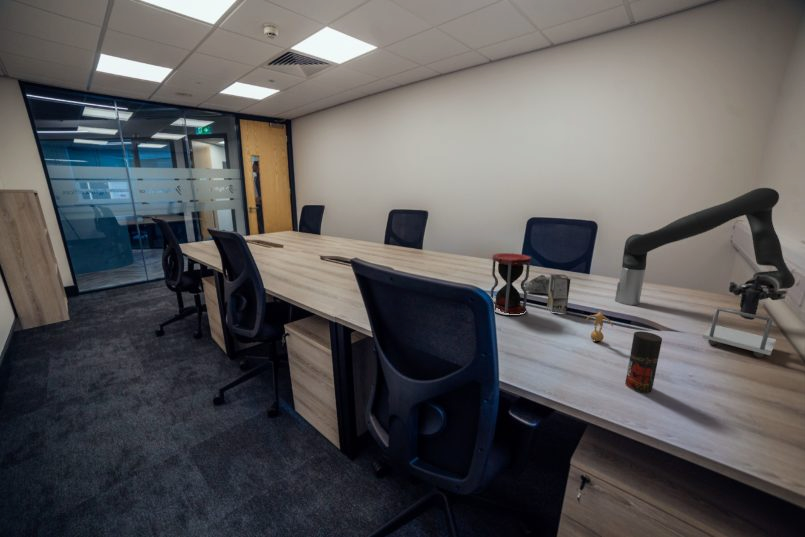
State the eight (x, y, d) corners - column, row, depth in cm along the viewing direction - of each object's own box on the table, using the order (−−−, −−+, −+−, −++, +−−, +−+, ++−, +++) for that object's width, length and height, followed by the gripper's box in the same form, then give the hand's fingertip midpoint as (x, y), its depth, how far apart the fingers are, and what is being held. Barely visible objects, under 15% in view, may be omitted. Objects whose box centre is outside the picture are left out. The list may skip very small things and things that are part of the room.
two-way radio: (755, 321, 106) (766, 277, 103) (736, 318, 109) (746, 275, 106) (751, 316, 110) (761, 273, 107) (733, 313, 113) (742, 272, 110)
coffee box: (566, 315, 141) (571, 279, 137) (551, 313, 142) (555, 278, 139) (561, 308, 150) (565, 274, 146) (546, 307, 151) (550, 273, 147)
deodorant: (620, 381, 91) (628, 331, 87) (639, 380, 91) (649, 331, 88) (636, 393, 85) (646, 341, 82) (657, 392, 85) (668, 340, 82)
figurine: (610, 342, 115) (615, 310, 112) (608, 348, 110) (614, 315, 107) (583, 336, 119) (588, 305, 117) (581, 342, 115) (586, 310, 112)
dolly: (701, 344, 114) (709, 306, 111) (710, 333, 123) (718, 298, 119) (768, 362, 101) (780, 320, 98) (773, 349, 110) (784, 310, 107)
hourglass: (486, 313, 142) (490, 258, 137) (491, 302, 157) (494, 252, 151) (525, 318, 136) (530, 261, 131) (526, 306, 151) (531, 254, 145)
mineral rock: (522, 292, 173) (524, 274, 171) (528, 288, 181) (530, 271, 179) (547, 297, 165) (549, 278, 163) (553, 292, 173) (555, 274, 171)
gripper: (736, 272, 120) (721, 279, 111) (795, 281, 108) (784, 289, 99) (731, 291, 122) (716, 299, 113) (789, 302, 110) (777, 311, 101)
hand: (748, 294), depth 106 cm, fingers closed on two-way radio, 4 cm apart
